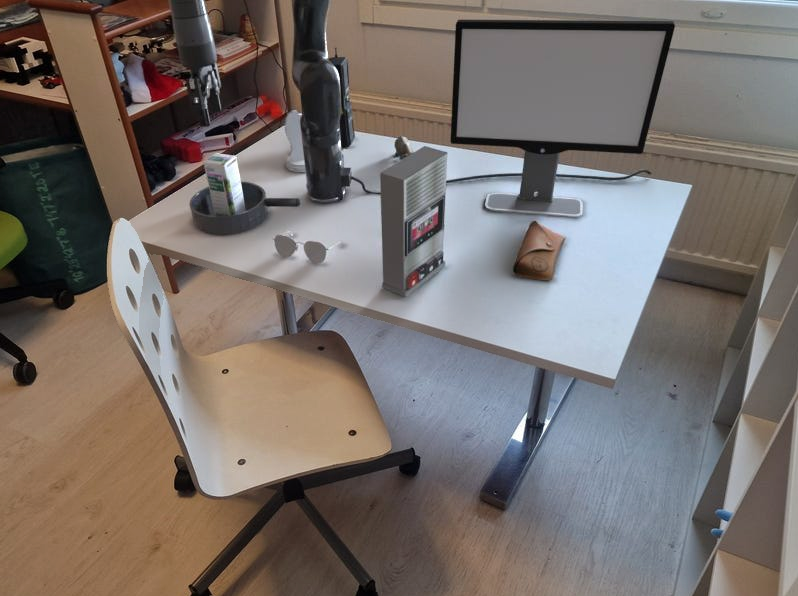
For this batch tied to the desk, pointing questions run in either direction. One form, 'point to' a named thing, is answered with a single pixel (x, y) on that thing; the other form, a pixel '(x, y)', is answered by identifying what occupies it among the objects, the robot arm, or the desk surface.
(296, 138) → the chess piece
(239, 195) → the syrup box
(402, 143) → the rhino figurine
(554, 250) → the sunglasses case
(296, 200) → the pan handle
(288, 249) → the sunglasses
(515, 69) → the computer monitor
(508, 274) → the desk surface
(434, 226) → the cassette tape recorder
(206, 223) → the pan
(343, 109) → the portable radio
